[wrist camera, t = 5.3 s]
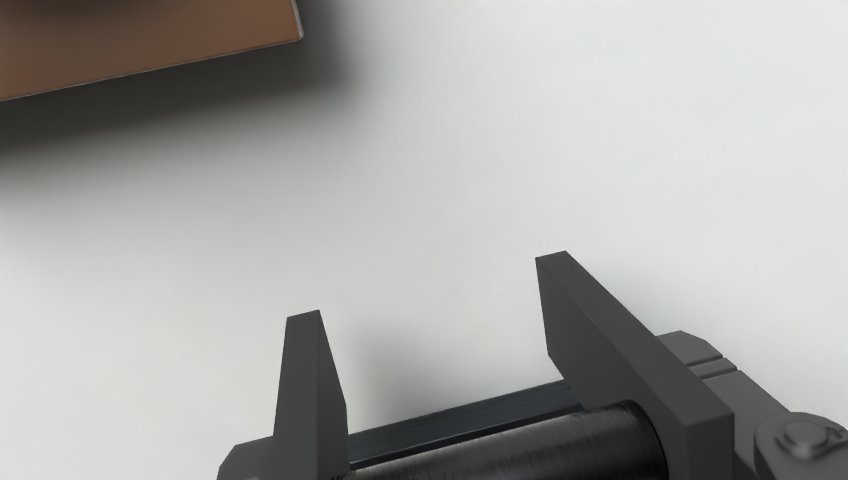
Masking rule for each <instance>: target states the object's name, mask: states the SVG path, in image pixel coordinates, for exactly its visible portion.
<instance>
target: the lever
mask: <svg viewBox="0 0 848 480" xmlns="http://www.w3.org/2000/svg"><path fill="white" fill-rule="evenodd" d="M329 480H669V472H668V466H667V461H666V457H665V453H664V450H663V447H662V444H661V441H660V439H659V436H658V434H657V432H656V430H655V428H654V426H653V424H652V422H651V420H650V419H649V417H648V415H647V414H646V412H645V411H644V410H643V408H642V407H641V406H640V405H639V404H638V403H637V402H635V401H633V400H629V399H627V400H623V401H619V402H615V403H611V404H607V405H604V406H600V407H596V408H592V409H588V410H585V411H581V412H577V413H573V414H569V415H565V416H562V417H558V418H554V419H550V420H546V421H543V422H539V423H535V424H531V425H527V426H524V427H520V428H516V429H512V430H508V431H504V432H501V433H497V434H493V435H489V436H485V437H482V438H478V439H474V440H470V441H466V442H462V443H459V444H455V445H451V446H447V447H443V448H440V449H436V450H432V451H428V452H424V453H420V454H417V455H413V456H409V457H405V458H401V459H398V460H394V461H390V462H386V463H382V464H378V465H375V466H371V467H367V468H363V469H359V470H356V471H352V472H348V473H344V474H340V475H336V476H333V477H331V478H330V479H329Z"/></svg>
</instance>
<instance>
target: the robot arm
mask: <svg viewBox="0 0 848 480" xmlns="http://www.w3.org/2000/svg"><path fill="white" fill-rule="evenodd" d="M535 260H536V268H537V275H538V282H539V290H540V297H541V305H542V312H543V320H544V327H545V335H546V342H547V350H548V355H549V357H550V358H551V360H552V361H553V363H554V364H555V366H556V367H557V369H558V370H559V372H560V373H561V375H562V376H563V377H564V379H565V380H566V382H567V383H568V385H569V386H570V388H571V389H572V391H573V392H574V394H575V395H576V397H577V398H578V400H579V401H580V403H581V404H582V406H583V407H584V409H585V410H588V409H592V408H596V407H600V406H604V405H607V404H611V403H615V402H619V401H623V400H627V399H629V400H633V401H635V402H637V403H638V404H639V405H640V406H641V407H642V408H643V410H644V411H645V412H646V414H647V415H648V417H649V419H650V420H651V422H652V424H653V426H654V428H655V430H656V432H657V434H658V436H659V439H660V441H661V444H662V447H663V450H664V453H665V457H666V461H667V466H668V472H669V480H848V431H847V430H846V429H845V428H844V427H843V426H841V425H839V424H837V423H835V422H833V421H831V420H829V419H827V418H825V417H821V416H817V415H813V414H809V413H802V412H790V411H789V410H787V409H786V408H785V407H784V406H783V405H781V404H780V403H779V402H778V401H777V400H775V399H774V398H773V397H772V396H771V395H769V394H768V393H767V392H766V391H765V390H764V389H762V388H761V387H760V386H759V385H758V384H756V383H755V382H754V381H753V380H752V379H750V378H749V377H748V376H747V375H746V374H745V373H743V372H742V371H741V370H739V371H738V370H737V367H736V366H735V365H734V364H733V363H731V362H730V361H729V360H728V359H727V358H723V355H722V354H721V353H720V352H718V351H717V350H716V349H715V348H714V347H712V346H711V345H710V344H709V343H708V342H706V341H705V340H703V339H701V338H698V337H696V336H693V335H691V334H688V333H686V332H683V331H681V330H680V331H676V332H672V333H668V334H664V335H660V336H656V337H655V336H654V335H653V334H652V333H651V332H650V331H649V330H648V329H647V328H646V327H645V326H644V325H643V324H642V323H641V322H640V321H639V320H638V319H636V318H635V317H634V316H633V315H632V314H631V313H630V312H629V311H628V310H627V309H626V308H625V307H624V306H623V305H622V304H621V303H620V302H619V301H618V300H617V299H616V298H615V297H613V296H612V295H611V294H610V293H609V292H608V291H607V290H606V289H605V288H604V287H603V286H602V285H601V284H600V283H599V282H598V281H597V280H596V279H595V278H594V277H593V276H591V275H590V274H589V273H588V272H587V271H586V270H585V269H584V268H583V267H582V266H581V265H580V264H579V263H578V262H577V261H576V260H575V259H574V258H573V257H572V256H571V255H569V254H568V253H567V252H566V251H562V252H557V253H553V254H549V255H545V256H541V257H536V258H535ZM348 472H350V459H349V443H348V427H347V411H346V403H345V400H344V396H343V393H342V389H341V386H340V382H339V378H338V375H337V371H336V368H335V364H334V361H333V357H332V353H331V350H330V346H329V343H328V339H327V336H326V332H325V328H324V325H323V321H322V318H321V314H320V311H319V310H315V311H311V312H307V313H303V314H299V315H294V316H290V317H287V322H286V330H285V339H284V347H283V356H282V364H281V373H280V381H279V390H278V399H277V407H276V416H275V424H274V433H273V436H270V437H266V438H262V439H258V440H254V441H250V442H246V443H242V444H238V445H235V446H234V447H233V449H232V450H231V452H230V453H229V454H228V456H227V457H226V459H225V460H224V461H223V463H222V464H221V466H220V467H219V472H218V476H217V480H329V479H330V478H331V477H333V476H336V475H340V474H344V473H348Z"/></svg>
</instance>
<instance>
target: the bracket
mask: <svg viewBox="0 0 848 480" xmlns="http://www.w3.org/2000/svg"><path fill="white" fill-rule="evenodd" d="M581 411H585V409H584V407H583V406H582V404H581V403H580V401H579V400H578V398H577V397H576V395H575V394H574V392H573V391H572V389H571V388H570V386H569V385H568V383H567V382H566V380H565V379H564V380H560V381H556V382H552V383H548V384H544V385H540V386H537V387H533V388H529V389H525V390H521V391H517V392H513V393H509V394H505V395H502V396H498V397H494V398H490V399H486V400H482V401H478V402H474V403H470V404H467V405H463V406H459V407H455V408H451V409H447V410H443V411H439V412H435V413H432V414H428V415H424V416H420V417H416V418H412V419H408V420H404V421H400V422H397V423H393V424H389V425H385V426H381V427H377V428H373V429H369V430H365V431H362V432H358V433H354V434H350V435H348V443H349V459H350V472H352V471H356V470H359V469H363V468H367V467H371V466H375V465H378V464H382V463H386V462H390V461H394V460H398V459H401V458H405V457H409V456H413V455H417V454H420V453H424V452H428V451H432V450H436V449H440V448H443V447H447V446H451V445H455V444H459V443H462V442H466V441H470V440H474V439H478V438H482V437H485V436H489V435H493V434H497V433H501V432H504V431H508V430H512V429H516V428H520V427H524V426H527V425H531V424H535V423H539V422H543V421H546V420H550V419H554V418H558V417H562V416H565V415H569V414H573V413H577V412H581Z"/></svg>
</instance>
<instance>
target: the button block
mask: <svg viewBox="0 0 848 480" xmlns="http://www.w3.org/2000/svg"><path fill="white" fill-rule="evenodd" d="M303 36H304V33H303V29H302V25H301V21H300V17H299V13H298V9H297V4H296V0H0V101H5V100H10V99H15V98H20V97H25V96H30V95H35V94H39V93H44V92H49V91H54V90H59V89H64V88H69V87H74V86H79V85H84V84H88V83H93V82H98V81H103V80H108V79H113V78H118V77H123V76H128V75H133V74H137V73H142V72H147V71H152V70H157V69H162V68H167V67H172V66H177V65H182V64H186V63H191V62H196V61H201V60H206V59H211V58H216V57H221V56H226V55H231V54H235V53H240V52H245V51H250V50H255V49H260V48H265V47H270V46H275V45H280V44H284V43H289V42H294V41H299V40H300V39H301V38H302V37H303Z"/></svg>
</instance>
